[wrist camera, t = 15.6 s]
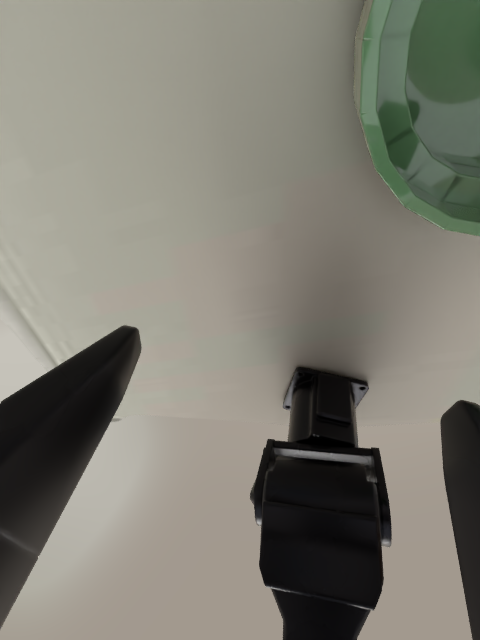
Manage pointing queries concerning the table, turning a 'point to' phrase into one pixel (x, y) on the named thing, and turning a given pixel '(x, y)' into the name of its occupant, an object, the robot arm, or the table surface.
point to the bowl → (423, 104)
